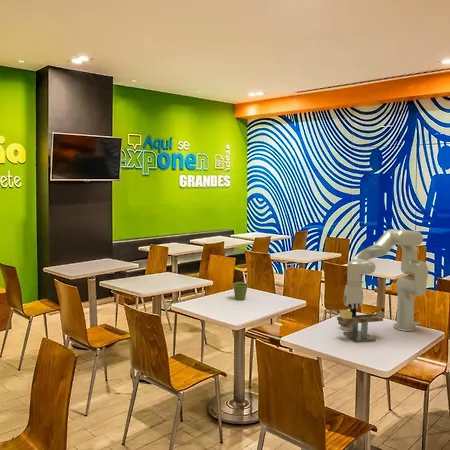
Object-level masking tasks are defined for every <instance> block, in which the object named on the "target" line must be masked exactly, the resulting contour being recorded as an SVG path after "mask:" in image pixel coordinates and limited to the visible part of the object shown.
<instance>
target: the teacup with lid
mask: <svg viewBox="0 0 450 450" xmlns="http://www.w3.org/2000/svg"><path fill="white" fill-rule="evenodd" d="M346 310H349V311H350V308H349V309H346ZM340 329H341V330H344V331H347V332H349V331H352V323H351V324H349V327H342V326H341V325H340Z"/></svg>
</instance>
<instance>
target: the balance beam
mask: <svg viewBox="0 0 450 450" xmlns="http://www.w3.org/2000/svg"><path fill="white" fill-rule="evenodd" d="M377 315H378V314H377V313H368V314H356V316H352V319H351V320H343V319H342V318H340V315H339V316H336V321H337V322H338V323H337V324H338V325H339V326H340V327H341V326H342V327H349V324H351V323H358V324H361V323H362V321H367V322H368V323H376V322H383V321H384V317H383V316H382V317H381V316H380V317H379V316H377Z"/></svg>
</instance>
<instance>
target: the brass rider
mask: <svg viewBox="0 0 450 450" xmlns="http://www.w3.org/2000/svg"><path fill="white" fill-rule="evenodd" d="M339 316H340V318H342V319H343V320H351V319H352V312H351V311H349V310H347V309H340V310H339Z"/></svg>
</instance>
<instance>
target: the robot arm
mask: <svg viewBox="0 0 450 450" xmlns="http://www.w3.org/2000/svg"><path fill="white" fill-rule="evenodd" d="M423 241H424V236H423V234H422V233H421V232H420V231H418V230H417V231H416V230H410V229H409V230H408V229H394V228H393V229H392V228H391V229H387V230H386V231H385V232H384V233H383V234H382V235H381V236H380V238H379V239H377V241H376V242H375V243H374V244H373V245H371V246H368V247H366V248H364V249H363V250H361V251H359V252H358V253H357V254H356V256H354V258H353V259H352V260H351V261H350V260H349V261H348V262H347V276H346V277H347V279H346V285H345V286H344V287H345V288H344V291H343V302H344V306H345V307H348V308H349V309H350V311H351V312H352V316H356V315H357V310H358V308H359V306H362V305H364V303H363V302H364V289H363V286H362V284H363V283H364V281H363V280H362V274H363V275H370V274H373V273H374V272H375V271H376V265H375V263H374V262H373V261H372V260H371V259H374V258H379V257H383V256H385V255H387V254H388V252H389V251H390V250H391V249H392V248H393V247H394V246H396V245H398V246H400V247H401V251H402V253H401V263H400V271H401V273H402V274H405V275H409V276H405V275H404V276H400V277H398V278H397V280H396V283H395V284H396V291H397V293H396V294H397V302H396V303H397V304H396V307H397V308H396V323H394V324H393V329H395V330H398V331H401V332H403V331H404V332H414V331H416V330H417V329H416V326H421V325H422V324H421V321H414V314H415V313H414V312H415V297H414V296H417V297H418V296H423V295H424V294H425V293H426V290H427V284H428V276H429V267H428V265H427V263H426V262H425V261H423V260H418V248H417V247H419V246H420V245H421V244H422V243H423ZM411 276H414V277H411Z"/></svg>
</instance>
